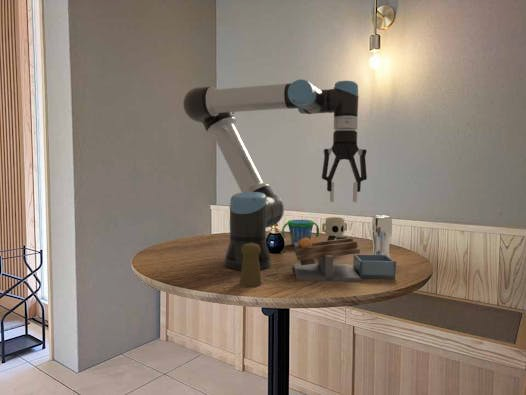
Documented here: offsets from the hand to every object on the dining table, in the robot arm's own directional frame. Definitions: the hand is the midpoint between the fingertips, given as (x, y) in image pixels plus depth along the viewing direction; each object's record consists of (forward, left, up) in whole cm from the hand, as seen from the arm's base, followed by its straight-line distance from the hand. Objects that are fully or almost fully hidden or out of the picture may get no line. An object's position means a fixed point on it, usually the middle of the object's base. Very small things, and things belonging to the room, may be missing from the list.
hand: (343, 201), depth 129 cm
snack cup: (-11, +33, -21) cm, 41 cm away
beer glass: (+16, +11, -21) cm, 29 cm away
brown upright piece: (-29, -23, -21) cm, 43 cm away
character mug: (+1, +21, -21) cm, 30 cm away
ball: (-13, -11, -12) cm, 21 cm away
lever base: (-7, -11, -21) cm, 25 cm away
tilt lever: (-7, -7, -17) cm, 19 cm away
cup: (+8, -11, -21) cm, 25 cm away
